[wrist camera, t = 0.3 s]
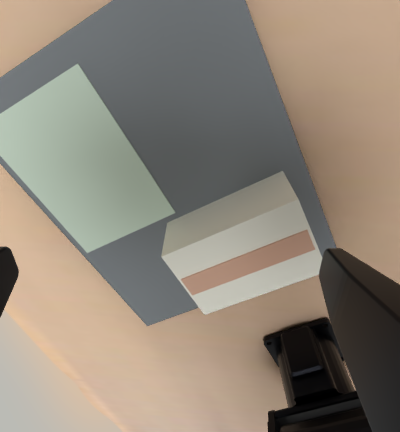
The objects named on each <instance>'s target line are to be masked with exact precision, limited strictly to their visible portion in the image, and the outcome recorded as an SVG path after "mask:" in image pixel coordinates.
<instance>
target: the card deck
mask: <svg viewBox="0 0 400 432" xmlns="http://www.w3.org/2000/svg"><path fill="white" fill-rule="evenodd" d="M161 257H162V259H163V260H164V261H165V263H166V264H167V265H168V267H169V268H170V269H171V271H172V272H173V273H174V275H175V276H176V277H177V279H178V280H179V281H180V283H181V284H182V285H183V287H184V288H185V289H186V291H187V292H188V293H189V295H190V296H191V298H192V299H193V300H194V302H195V303H196V304H197V306H198V307H199V308H200V310H201V311H202V312H203V314H204V315H206V314H209V313H212V312H214V311H217V310H220V309H223V308H226V307H228V306H231V305H234V304H237V303H240V302H243V301H245V300H248V299H251V298H254V297H257V296H260V295H262V294H265V293H268V292H271V291H274V290H277V289H279V288H282V287H285V286H288V285H291V284H294V283H296V282H299V281H302V280H305V279H308V278H311V277H313V276H316V275H319V270H320V266H321V262H322V256H321V253H320V251H319V248H318V246H317V243H316V241H315V239H314V236H313V234H312V231H311V229H310V226H309V224H308V221H307V219H306V216H305V214H304V212H303V209H302V207H301V204H300V202H299V199H298V197H297V196H296V194H295V192H294V190H293V188H292V187H291V185H290V183H289V181H288V179H287V177H286V176H285V174H284V172H283V171H281V172H279V173H277V174H274V175H272V176H270V177H268V178H265V179H263V180H261V181H259V182H257V183H254V184H252V185H250V186H248V187H245V188H243V189H241V190H239V191H237V192H234V193H232V194H230V195H228V196H225V197H223V198H221V199H219V200H217V201H214V202H212V203H210V204H208V205H205V206H203V207H201V208H199V209H197V210H194V211H192V212H190V213H188V214H185V215H183V216H181V217H179V218H177V219H174V220H172V221H170V222H168V223H167V227H166V232H165V238H164V244H163V249H162V255H161Z"/></svg>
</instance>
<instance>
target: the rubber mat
mask: <svg viewBox="0 0 400 432" xmlns="http://www.w3.org/2000/svg"><path fill="white" fill-rule="evenodd" d="M0 164H1V165H2V166H3V167H4V168H5V170H6V171H7V172H8V173H9V174H10V175H11V176H12V177H13V178H14V179H15V181H16V182H17V183H18V184H19V185H20V186H21V187H22V188H23V189H24V191H25V192H26V193H27V194H28V195H29V196H30V197H31V198H32V199H33V200H34V202H35V203H36V204H37V205H38V206H39V207H40V208H41V209H42V210H43V211H44V213H45V214H46V215H47V216H48V217H49V218H50V219H51V220H52V221H53V223H54V224H55V225H56V226H57V227H58V228H59V229H60V230H61V231H62V232H63V234H64V235H65V236H66V237H67V238H68V239H69V240H70V241H71V242H72V243H73V245H74V246H75V247H76V248H77V249H78V250H79V251H80V252H81V253H82V255H83V256H84V257H85V258H86V259H87V260H88V261H89V262H90V263H91V264H92V266H93V267H94V268H95V269H96V270H97V271H98V272H99V273H100V274H101V275H102V277H103V278H104V279H105V280H106V281H107V282H108V283H109V284H110V285H111V286H112V288H113V289H114V290H115V291H116V292H117V293H118V294H119V295H120V296H121V298H122V299H123V300H124V301H125V302H126V303H127V304H128V305H129V306H130V307H131V309H132V310H133V311H134V312H135V313H136V314H137V315H138V316H139V317H140V318H141V320H142V321H143V322H144V323H145V324H146V325H147V326H149V325H152V324H154V323H157V322H160V321H163V320H165V319H168V318H171V317H174V316H176V315H179V314H182V313H185V312H188V311H190V310H193V309H196V308H199V307H198V306H197V304H196V303H195V302H194V300H193V299H192V298H191V296H190V295H189V293H188V292H187V291H186V289H185V288H184V287H183V285H182V284H181V283H180V281H179V280H178V279H177V277H176V276H175V275H174V273H173V272H172V271H171V269H170V268H169V267H168V265H167V264H166V263H165V261H164V260H163V259H162V257H161V255H162V249H163V244H164V238H165V232H166V227H167V223H168V222H170V221H172V220H174V219H177V218H179V217H181V216H183V215H185V214H188V213H190V212H192V211H194V210H197V209H199V208H201V207H203V206H205V205H208V204H210V203H212V202H214V201H217V200H219V199H221V198H223V197H225V196H228V195H230V194H232V193H234V192H237V191H239V190H241V189H243V188H245V187H248V186H250V185H252V184H254V183H257V182H259V181H261V180H263V179H265V178H268V177H270V176H272V175H274V174H277V173H279V172H281V171H283V172H284V174H285V176H286V177H287V179H288V181H289V183H290V185H291V187H292V188H293V190H294V192H295V194H296V196H297V197H298V199H299V202H300V204H301V207H302V209H303V212H304V214H305V216H306V219H307V221H308V224H309V226H310V229H311V231H312V234H313V236H314V239H315V241H316V243H317V246H318V248H319V251H320V253H321V256H322V257H323V253H324V251H325V250H326V249H327V248H336V245H335V242H334V240H333V237H332V234H331V232H330V229H329V226H328V223H327V221H326V218H325V215H324V213H323V210H322V207H321V204H320V202H319V199H318V196H317V194H316V191H315V188H314V185H313V183H312V180H311V177H310V175H309V172H308V169H307V167H306V164H305V161H304V158H303V156H302V153H301V150H300V148H299V145H298V142H297V139H296V137H295V134H294V131H293V129H292V126H291V123H290V120H289V118H288V115H287V112H286V110H285V107H284V104H283V102H282V99H281V96H280V93H279V91H278V88H277V85H276V83H275V80H274V77H273V74H272V72H271V69H270V66H269V64H268V61H267V58H266V55H265V53H264V50H263V47H262V45H261V42H260V39H259V37H258V34H257V31H256V28H255V26H254V23H253V20H252V18H251V15H250V12H249V9H248V7H247V4H246V1H245V0H113V1H111V2H110V3H108V4H107V5H105V6H104V7H102V8H101V9H99V10H98V11H97V12H95V13H94V14H92V15H91V16H89V17H88V18H86V19H85V20H83V21H82V22H81V23H79V24H78V25H76V26H75V27H73V28H72V29H70V30H69V31H67V32H66V33H65V34H63V35H62V36H60V37H59V38H57V39H56V40H54V41H53V42H51V43H50V44H49V45H47V46H46V47H44V48H43V49H41V50H40V51H38V52H37V53H35V54H34V55H32V56H31V57H30V58H28V59H27V60H25V61H24V62H22V63H21V64H19V65H18V66H16V67H15V68H14V69H12V70H11V71H9V72H8V73H6V74H5V75H3V76H2V77H0Z"/></svg>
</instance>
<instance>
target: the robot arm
mask: <svg viewBox="0 0 400 432" xmlns="http://www.w3.org/2000/svg"><path fill="white" fill-rule="evenodd" d="M18 273H19V271H18V267H17V264H16V262H15V259H14V256H13V254H12V251H11V250H10V248H8V247H0V317H1V315H2V312H3V310H4V308H5V306H6V303H7V301H8V299H9V296H10V294H11V292H12V290H13V287H14V285H15V283H16V280H17V278H18ZM319 279H320V283H321V287H322V291H323V294H324V298H325V302H326V306H327V310H328V314H329V318H330V321H331V323H330V321H329V319H321V320H318V321H315V322H311V323H308V324H305V325H302V326H299V327H296V328H293V329H289V330H286V331H283V332H280V333H277V334H274V335H270V336H267V337H265V338H264V339H263V341H264V345H265V347H266V348H267V350H268V351H269V353H270V354H271V356H272V357H273V359H274V361H275V362H276V364H277V365H278V367H279V368H280V373H281V377H282V381H283V386H284V390H285V395H286V399H287V404H288V408H285V409H281V410H277V411H275V410H272V411H268V421H269V422H268V432H400V285H399V284H398V283H396V282H394V281H393V280H391V279H389V278H388V277H386V276H385V275H383V274H381V273H380V272H378V271H377V270H375V269H373V268H372V267H370V266H369V265H367V264H365V263H364V262H362V261H360V260H359V259H357V258H356V257H354V256H352V255H351V254H349V253H348V252H346V251H344V250H343V249H340V248H327V249H326V250H325V251H324V253H323V257H322V262H321V266H320V270H319ZM344 360H345V362H346V365H347V367H348V370H349V372H350V375H351V378H352V380H353V383H354V385H355V388H356V391H355V390H354V388H353V385H352V383H351V381H350V378H349V376H348V373H347V371H346V369H345V366H344V364H343V361H344Z"/></svg>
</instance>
